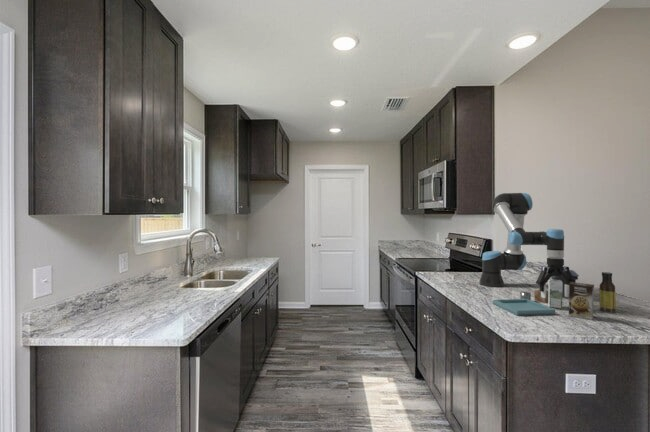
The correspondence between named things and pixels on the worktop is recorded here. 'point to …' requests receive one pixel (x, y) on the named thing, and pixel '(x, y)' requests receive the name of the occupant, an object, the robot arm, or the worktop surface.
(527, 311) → the tray
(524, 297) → the grey metal cylinder
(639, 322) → the worktop surface
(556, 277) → the storage bin
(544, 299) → the walnut block
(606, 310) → the sauce bottle
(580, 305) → the coffee box
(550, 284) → the syrup box
